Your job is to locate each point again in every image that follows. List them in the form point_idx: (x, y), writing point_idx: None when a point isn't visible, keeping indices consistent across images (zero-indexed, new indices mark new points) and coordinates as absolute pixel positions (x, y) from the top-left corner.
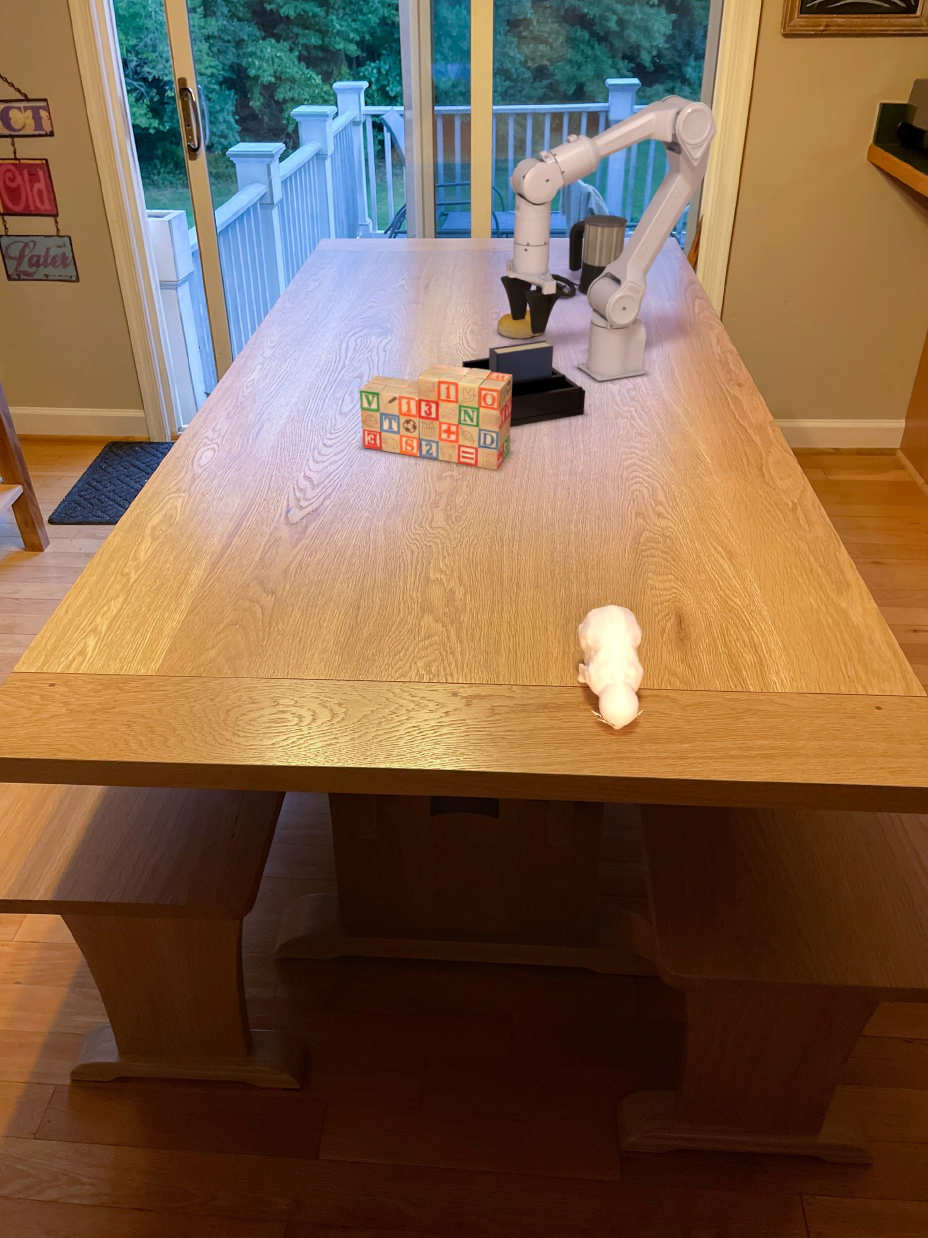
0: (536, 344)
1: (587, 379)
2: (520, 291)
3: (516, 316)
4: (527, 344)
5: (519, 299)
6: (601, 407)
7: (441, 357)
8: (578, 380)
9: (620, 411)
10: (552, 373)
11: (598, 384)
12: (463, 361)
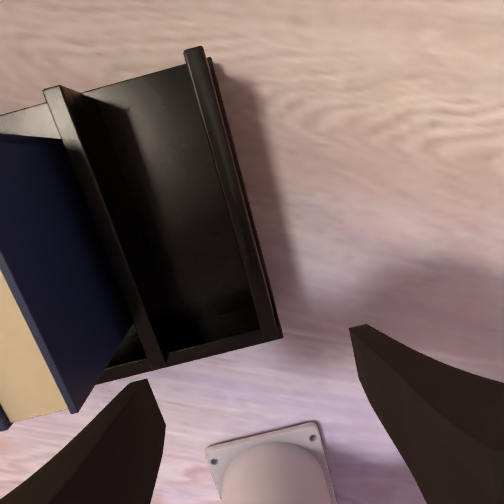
0: (40, 369)
1: (228, 426)
2: (435, 480)
3: (357, 349)
4: (32, 332)
5: (405, 427)
6: (41, 421)
7: (497, 37)
8: (224, 406)
9: (18, 454)
10: (117, 360)
11: (192, 442)
12: (198, 50)
